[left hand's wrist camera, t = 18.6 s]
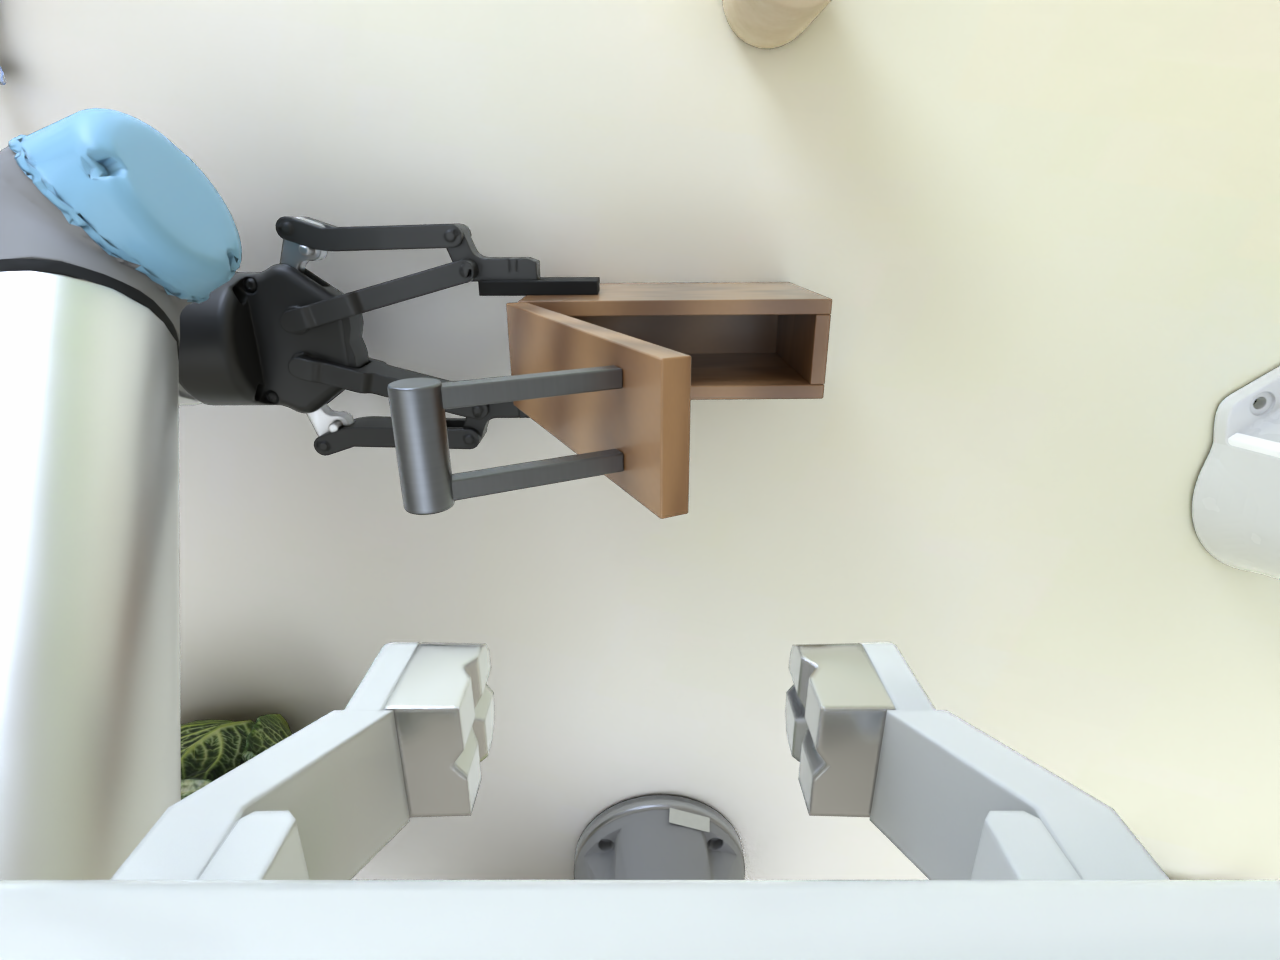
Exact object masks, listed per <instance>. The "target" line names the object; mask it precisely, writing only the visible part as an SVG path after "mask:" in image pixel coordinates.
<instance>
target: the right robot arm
mask: <svg viewBox="0 0 1280 960" xmlns="http://www.w3.org/2000/svg"><path fill="white" fill-rule="evenodd" d="M276 231H277V233H278V235H279V236H280V237H281V238H283V245H282V252H281V259H280V264H276V265H273V266H271V267H270V268H268V269H267V270H265V271H263V272H236V270H237V269H238V268H239V267H240V263H241V256H242V248H241V242H240V238H239V234H238V230H237V228H236V225H235V223H234V220H233V218H232V216H231V214H230V212H229V210H228V208H227V206H226V204H225V203H224V201H223V199H222V198H221V196H220V195H219V193H218V192H217V190H216V189H215V188H214V186H213V185H212V184H211V182H210V181H209V180H208V178H207V177H206V176H205V175H204V173H203V172H202V171H201V170H200V169H199V168H198V167H197V166H196V164H195V163H194V162H193V161H192V160H191V159H190V158H189V157H188V156H186V155H185V154H184V153H183V152H182V151H181V150H180V149H178V148H177V147H176V146H175V145H174V144H173V143H172V142H170V141H169V140H168V139H167V138H166V137H165V136H164V135H162V134H161V133H160V132H158V131H157V130H155V129H154V128H153V127H151V126H149V125H148V124H146V123H144V122H142V121H141V120H139V119H137V118H135V117H132V116H130V115H127V114H125V113H121V112H118V111H115V110H110V109H99V108H94V109H85V110H82V111H79V112H77V113H75V114H72V115H70V116H68V117H66V118H64V119H62V120H60V121H58V122H55V123H53V124H51V125H49V126H47V127H45V128H43V129H40V130H38V131H36V132H34V133H32V134H30V135H28V136H26V135H19V136H18V137H15V138H13V139H12V140H10V141H9V146H8V147H6V148H5V149H3V150H1V151H0V880H110V879H111V878H112V876H113V875H114V874H115V873H116V872H117V870H118V869H119V868H120V867H121V865H122V864H123V863H124V862H125V860H126V859H127V858H128V857H129V855H130V854H131V853H132V852H133V851H134V849H135V848H136V847H137V846H138V844H139V843H140V842H141V841H142V839H143V838H144V837H145V836H146V834H147V833H148V832H149V831H150V830H151V828H152V827H153V826H154V825H155V823H156V822H157V821H158V820H159V818H160V817H161V816H162V815H163V813H164V812H165V811H166V810H167V809H168V808H169V807H170V806H172V805H174V804H175V803H177V802H179V801H180V800H181V718H180V537H179V405H186V406H194V405H198V404H202V403H204V404H208V405H283V406H286V407H289V408H291V409H293V410H295V411H298V412H301V413H306V414H307V416H308V418H309V419H310V421H311V423H312V425H313V427H314V429H315V431H316V433H317V435H318V438H316V440H315V441H314V447H315V450H316V451H317V452H318V453H319V454H321V455H330V454H333V453H336V452H339V451H342V450H345V449H348V448H351V447H395V440H394V432H393V425H392V418H391V417H379V416H371V417H361V418H357V419H353V416H352V415H351V414H350V413H347V412H344V411H341V412H337V411H334V410H332V409H331V408H329V406H328V405H327V404H328V403H329V402H330V401H331V400H333V399H334V398H335V397H336V396H338V395H339V394H340V393H341V392H343V391H344V390H345V389H346V390H350V391H354V392H358V393H373V394H377V395H381V396H385V397H389V396H388V389H387V387H388V384H390V383H392V382H394V381H397V380H401V379H408V378H433V379H437V380H440V381H441V383H445V382H452V381H448V380H444V379H440V378H436V377H433V376H429V375H425V374H421V373H417V372H413V371H409V370H406V369H402V368H398V367H394V366H390V365H387V364H386V363H385V362H383V361H380V360H376V359H372V358H368V352H367V348H366V346H365V343H364V341H363V339H362V331H363V317H362V313H364V312H368V311H371V310H374V309H378V308H381V307H385V306H388V305H391V304H395V303H398V302H402V301H405V300H409V299H412V298H415V297H419V296H422V295H426V294H429V293H433V292H436V291H439V290H443V289H446V288H450V287H453V286H457V285H460V284H463V283H468V282H470V281H478V283H479V295H480V296H527V295H598V293H599V291H600V279H599V277H540V262H539V261H538V260H536V259H534V258H531V257H485V256H483V255H481V254H480V253H479V252H478V251H477V249H476V248H475V245H474V243H473V241H472V238H471V232H470V230H469V228H468V227H467V226H465V225H464V224H431V225H398V226H364V227H336V226H333V225H330V224H327V223H324V222H321V221H318V220H315V219H312V218H309V217H281V218H280V219H279V220H277V223H276ZM425 248H447V250H448V253H449V255H450V257H451V259H452V263H449V264H445V265H442V266H438V267H435V268H432V269H428V270H425V271H421V272H418V273H415V274H411V275H408V276H404V277H401V278H398V279H394V280H391V281H388V282H384V283H381V284H377V285H374V286H371V287H367V288H364V289H360V290H357V291H354V292H350V293H347V294H343V293H342V292H340V291H339V290H337V289H336V288H334V287H333V286H331V285H330V284H328V283H327V282H325V281H324V280H322V279H321V278H319V277H318V276H316V275H315V274H313V273H312V272H310V271H309V270H307V269H306V268H305V266H306V264H307V262H309V261H315V260H321V259H323V258H325V257H326V255H327V253H328V251H358V250H392V249H425ZM445 412H448V413H452V414H456V415H460V416H464V417H466V418H446V426H447V435H448V445H449V449H473V448H475V447H477V445H478V444H479V443H480V441H481V440H482V438H483V437H484V435H485V433H486V432H487V426H488V423H489V420H490V419H493V418H530V417H529V416H527V415H526V414H525V413H524V412H522V411H521V410H520V409H518V408H517V407H516V406H514V404H513V401H511V402H503V403H494V404H486V405H477V406H469V407H460V408H452V409H445ZM744 877H745V864H744V857H743V852H742V846H741V842H740V839H739V837H738V835H737V833H736V831H735V829H734V828H733V826H732V825H731V824H730V823H729V822H728V820H727V819H726V818H724V817H723V816H722V815H721V814H720V813H718V812H717V811H716V810H714V809H712V808H711V807H709V806H707V805H705V804H703V803H700V802H698V801H695V800H692V799H688V798H684V797H679V796H670V795H651V796H643V797H638V798H633V799H630V800H626V801H624V802H621V803H618V804H616V805H614V806H612V807H610V808H609V809H607V810H605V811H604V812H602V813H601V814H599V815H598V816H597V817H596V818H595V819H594V820H592V822H591V823H590V824H589V825H588V826H587V827H586V829H585V830H584V831H583V833H582V835H581V837H580V839H579V841H578V844H577V848H576V853H575V864H574V880H744Z"/></svg>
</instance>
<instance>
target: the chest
mask: <svg viewBox="0 0 1280 960" xmlns="http://www.w3.org/2000/svg"><path fill="white" fill-rule="evenodd" d="M519 302H526V303H529V304H533V305H536V306H539V307H542V308H545V309H548V310H551V311H554V312H557V313H560V314H563V315H566V316H569V317H572V318H576V319H579V320H582V321H585V322H588V323H591V324H594V325H597V326H600V327H603V328H606V329H609V330H612V331H616V332H619V333H622V334H625V335H628V336H631V337H634V338H637V339H640V340H643V341H646V342H649V343H652V344H656V345H659V346H662V347H665V348H668V349H671V350H674V351H677V352H680V353H683V354H686V355H689V356H691V400H707V399H822V398H823V393H824V385H823V384H824V383H825V373H826V362H827V351H828V340H829V329H830V318H831V315H830V314H831V307H832V299H830V298H828V297H825V296H823V295H820V294H818V293H815V292H813V291H810V290H808V289H805V288H803V287H800V286H798V285H795V284H793V283H790V282H719V283H600V291H599V293H598V295H527V296H525V297H524V298H522V299H521V300H520V301H518V303H519Z"/></svg>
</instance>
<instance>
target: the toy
mask: <svg viewBox="0 0 1280 960" xmlns="http://www.w3.org/2000/svg"><path fill="white" fill-rule="evenodd" d="M5 84H6V77H5V75H4V73H3V71H2V68H1V66H0V85H5Z"/></svg>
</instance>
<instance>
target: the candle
mask: <svg viewBox="0 0 1280 960" xmlns="http://www.w3.org/2000/svg"><path fill="white" fill-rule="evenodd" d="M831 1H832V0H723V8H724V12H725V16H726V19H727V21H728V23H729V25H730V27H731V28H732V30H733V31H734V32H735V34H736V35H737V36H738V37H739V38H740V39H741V40H743V41H744V42H746V43H747V44H749V45H752V46H754V47H758V48H764V49H766V48H776V47H780V46H783V45H785V44H787V43H789V42H791V41H792V40H794V39H795V38H796V37H797V36H799V35H800V34H801V33H802V32H803V31H804V30H805V29H806V28H807V27H808V26H809V24H810V23H811V22H812V21H813V20H814V19H815V18H816V17H817V16H818V15H819V14H820V13H821V11H822V10H823V9H824V8H825V7H826V6H827V5H828V4H829V3H830V2H831Z"/></svg>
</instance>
